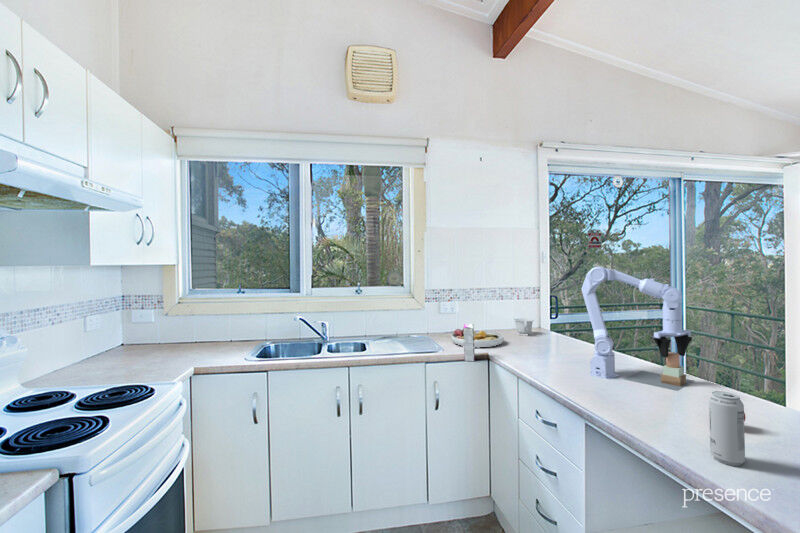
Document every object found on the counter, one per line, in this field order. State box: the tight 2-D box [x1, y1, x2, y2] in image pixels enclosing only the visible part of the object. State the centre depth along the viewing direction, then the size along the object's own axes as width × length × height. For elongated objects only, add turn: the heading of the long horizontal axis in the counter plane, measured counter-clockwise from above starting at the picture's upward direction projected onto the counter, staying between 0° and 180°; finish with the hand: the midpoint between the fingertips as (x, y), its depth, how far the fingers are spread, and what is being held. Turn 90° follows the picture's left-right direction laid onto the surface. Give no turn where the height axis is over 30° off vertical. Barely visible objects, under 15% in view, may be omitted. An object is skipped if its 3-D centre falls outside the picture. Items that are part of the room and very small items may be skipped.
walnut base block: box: [660, 373, 687, 386], centre depth 138 cm, size 6×6×3 cm
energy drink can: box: [708, 390, 746, 467], centre depth 85 cm, size 6×6×15 cm
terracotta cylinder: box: [665, 351, 681, 368], centre depth 138 cm, size 4×4×5 cm
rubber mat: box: [622, 370, 695, 392], centre depth 142 cm, size 18×18×1 cm
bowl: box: [450, 328, 504, 348], centre depth 219 cm, size 30×30×8 cm
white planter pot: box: [513, 317, 534, 335], centre depth 239 cm, size 12×15×10 cm
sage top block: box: [662, 364, 685, 378], centre depth 138 cm, size 5×5×3 cm
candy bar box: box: [462, 323, 476, 362], centre depth 183 cm, size 11×5×16 cm, turn 168°
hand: (672, 356), depth 138 cm, fingers open, 7 cm apart
